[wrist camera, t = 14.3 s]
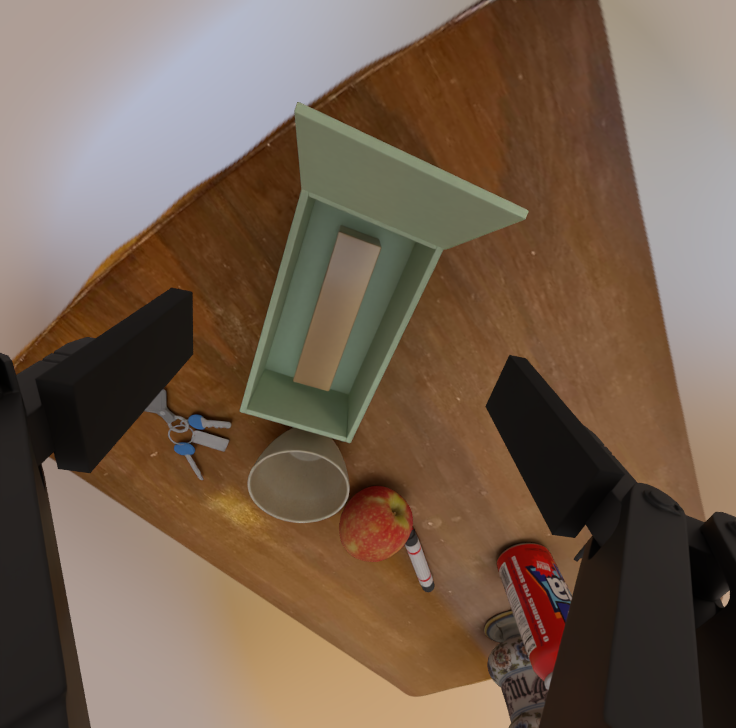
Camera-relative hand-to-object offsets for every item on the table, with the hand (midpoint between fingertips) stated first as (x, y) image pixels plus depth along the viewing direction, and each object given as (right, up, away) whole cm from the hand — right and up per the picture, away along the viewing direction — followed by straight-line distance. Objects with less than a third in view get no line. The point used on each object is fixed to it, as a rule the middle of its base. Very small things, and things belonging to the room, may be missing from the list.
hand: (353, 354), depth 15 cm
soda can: (+23, -29, +38) cm, 53 cm away
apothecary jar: (+26, -46, +48) cm, 71 cm away
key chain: (-19, -7, +25) cm, 32 cm away
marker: (+8, -27, +37) cm, 47 cm away
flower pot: (-6, -9, +27) cm, 29 cm away
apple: (+1, -18, +32) cm, 36 cm away
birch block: (-2, +5, +19) cm, 19 cm away
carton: (-2, +5, +19) cm, 20 cm away
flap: (+2, +8, +3) cm, 9 cm away
